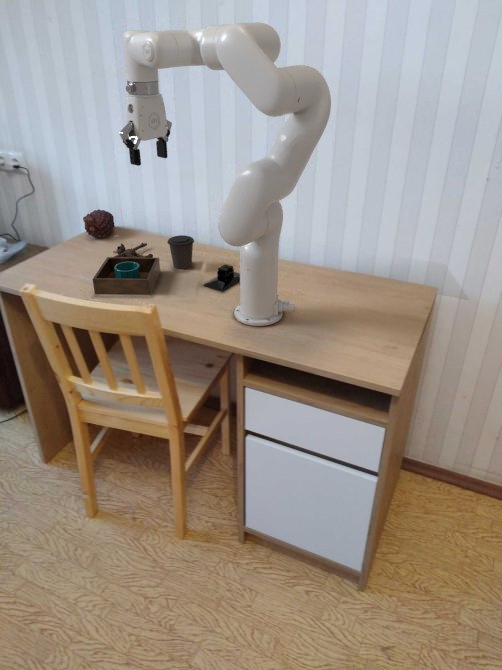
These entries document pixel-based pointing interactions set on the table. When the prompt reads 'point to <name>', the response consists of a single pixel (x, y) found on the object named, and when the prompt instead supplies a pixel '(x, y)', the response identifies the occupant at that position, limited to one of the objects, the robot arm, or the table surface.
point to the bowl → (127, 270)
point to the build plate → (224, 279)
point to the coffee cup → (181, 251)
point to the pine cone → (99, 223)
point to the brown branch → (130, 251)
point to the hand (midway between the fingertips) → (149, 160)
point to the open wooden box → (111, 285)
